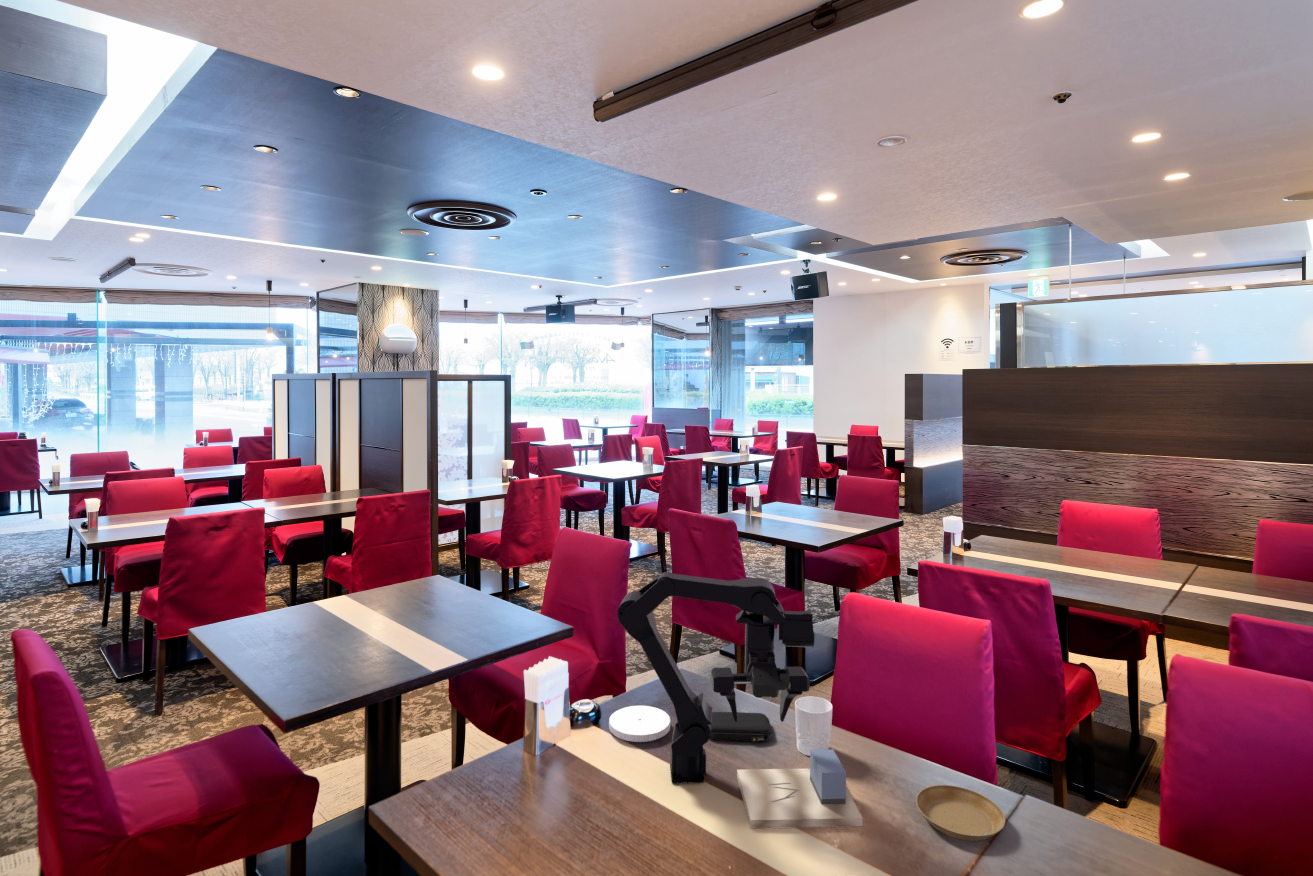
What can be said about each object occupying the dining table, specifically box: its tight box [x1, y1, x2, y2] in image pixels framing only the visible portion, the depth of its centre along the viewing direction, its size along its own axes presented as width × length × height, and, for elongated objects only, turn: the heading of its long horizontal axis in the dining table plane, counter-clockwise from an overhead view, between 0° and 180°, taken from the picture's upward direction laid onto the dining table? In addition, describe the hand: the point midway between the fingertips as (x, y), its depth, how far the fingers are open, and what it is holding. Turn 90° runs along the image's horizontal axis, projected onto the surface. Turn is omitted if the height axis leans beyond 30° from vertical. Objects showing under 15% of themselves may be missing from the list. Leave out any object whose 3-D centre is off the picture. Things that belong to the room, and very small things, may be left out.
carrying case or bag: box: [710, 711, 773, 743], centre depth 154 cm, size 11×3×15 cm
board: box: [736, 767, 863, 829], centre depth 129 cm, size 20×16×2 cm
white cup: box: [794, 695, 834, 757], centre depth 146 cm, size 8×8×10 cm
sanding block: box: [809, 748, 847, 804], centre depth 129 cm, size 4×8×6 cm, turn 2°
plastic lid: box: [608, 705, 671, 743], centre depth 155 cm, size 14×14×2 cm
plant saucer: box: [915, 784, 1006, 842], centre depth 122 cm, size 15×15×3 cm
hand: (758, 721), depth 134 cm, fingers open, 9 cm apart
